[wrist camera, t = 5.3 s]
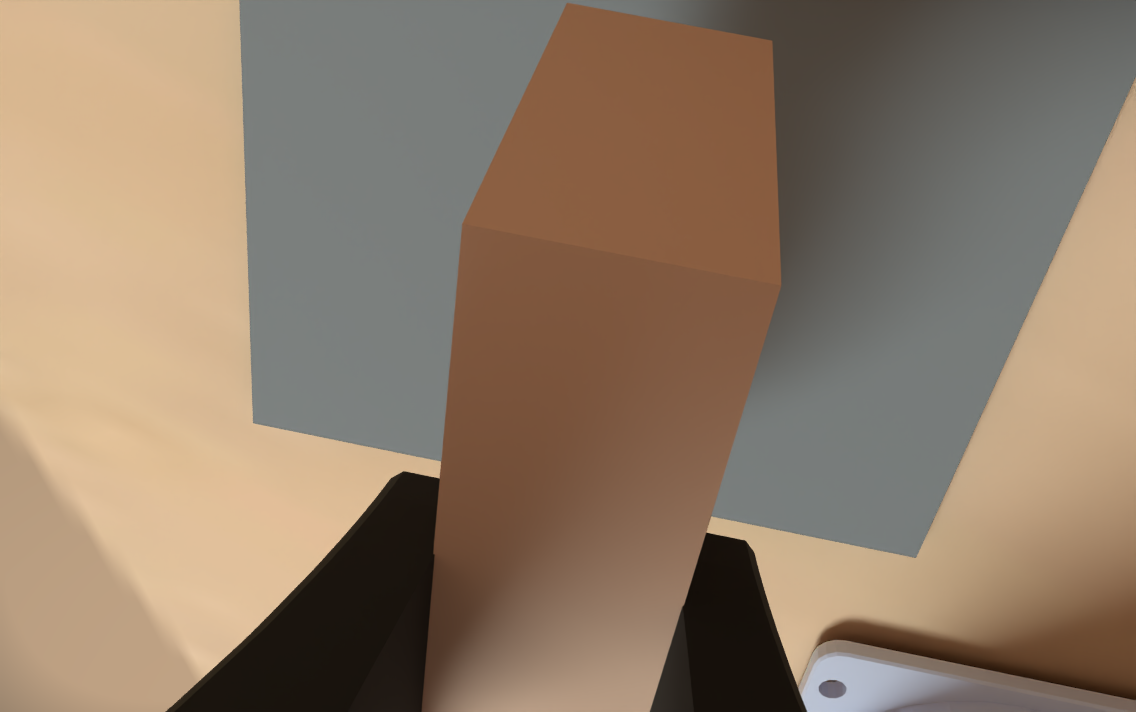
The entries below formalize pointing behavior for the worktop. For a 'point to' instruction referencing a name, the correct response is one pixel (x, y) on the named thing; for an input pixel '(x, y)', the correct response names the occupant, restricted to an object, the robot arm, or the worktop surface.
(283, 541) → the worktop surface
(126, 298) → the worktop surface
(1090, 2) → the slate mat
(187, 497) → the worktop surface
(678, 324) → the dusty pink block
